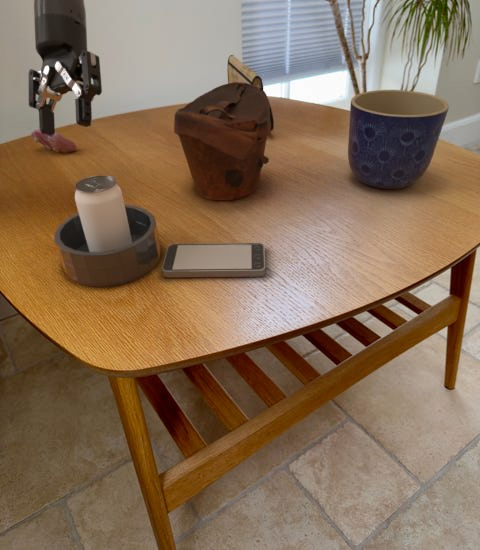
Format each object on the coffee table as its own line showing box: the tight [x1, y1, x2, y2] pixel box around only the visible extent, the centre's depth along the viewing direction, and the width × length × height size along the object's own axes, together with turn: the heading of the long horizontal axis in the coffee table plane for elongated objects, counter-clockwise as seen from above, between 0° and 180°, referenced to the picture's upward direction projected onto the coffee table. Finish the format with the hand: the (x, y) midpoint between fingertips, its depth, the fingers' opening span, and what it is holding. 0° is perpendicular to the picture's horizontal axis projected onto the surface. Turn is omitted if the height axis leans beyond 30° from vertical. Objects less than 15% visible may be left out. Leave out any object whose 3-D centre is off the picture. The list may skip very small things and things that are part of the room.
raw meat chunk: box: [30, 126, 77, 153], centre depth 104 cm, size 10×5×7 cm, turn 55°
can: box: [74, 174, 132, 252], centre depth 64 cm, size 6×6×12 cm
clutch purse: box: [227, 54, 275, 131], centre depth 114 cm, size 30×7×15 cm, turn 14°
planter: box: [347, 89, 450, 190], centre depth 83 cm, size 17×17×15 cm
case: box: [173, 82, 272, 201], centre depth 81 cm, size 18×20×18 cm
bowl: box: [53, 203, 162, 288], centre depth 66 cm, size 15×15×6 cm
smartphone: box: [161, 242, 266, 278], centre depth 65 cm, size 7×1×15 cm
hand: (65, 129), depth 68 cm, fingers open, 8 cm apart
